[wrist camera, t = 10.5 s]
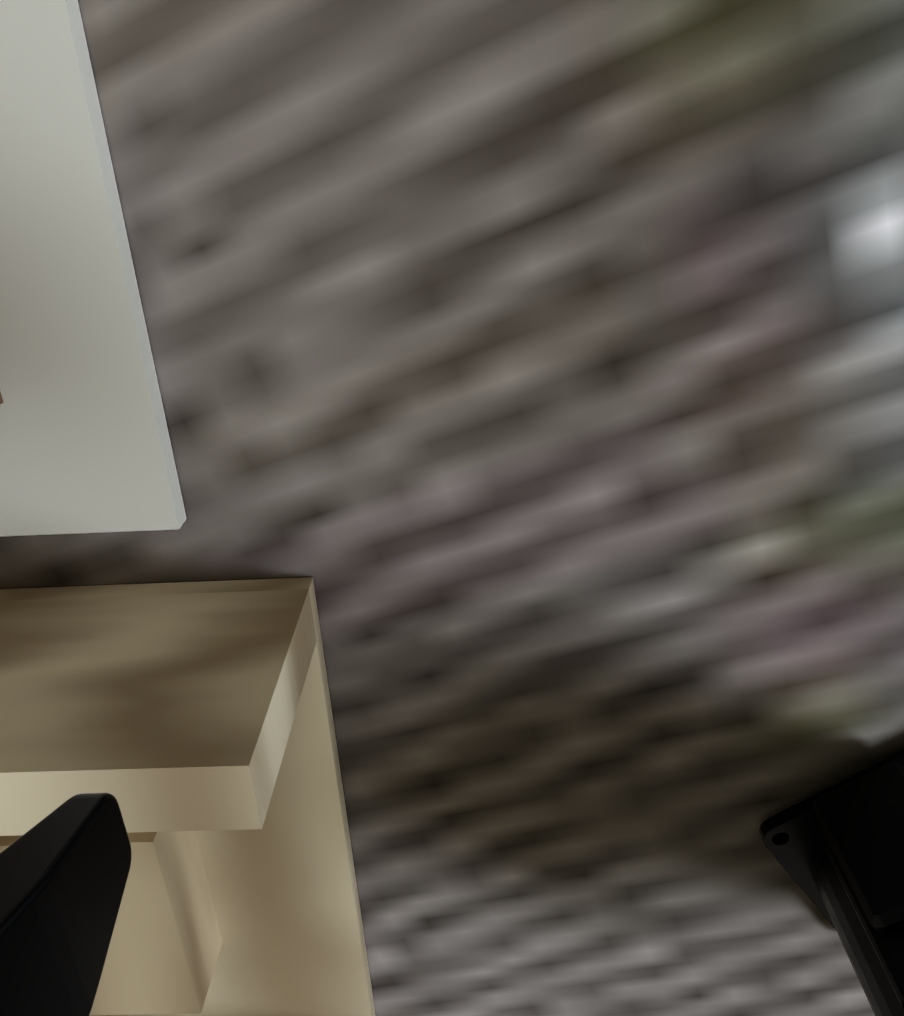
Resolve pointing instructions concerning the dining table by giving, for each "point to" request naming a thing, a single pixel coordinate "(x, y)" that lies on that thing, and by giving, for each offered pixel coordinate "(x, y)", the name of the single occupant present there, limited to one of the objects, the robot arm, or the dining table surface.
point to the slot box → (194, 787)
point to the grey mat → (70, 303)
